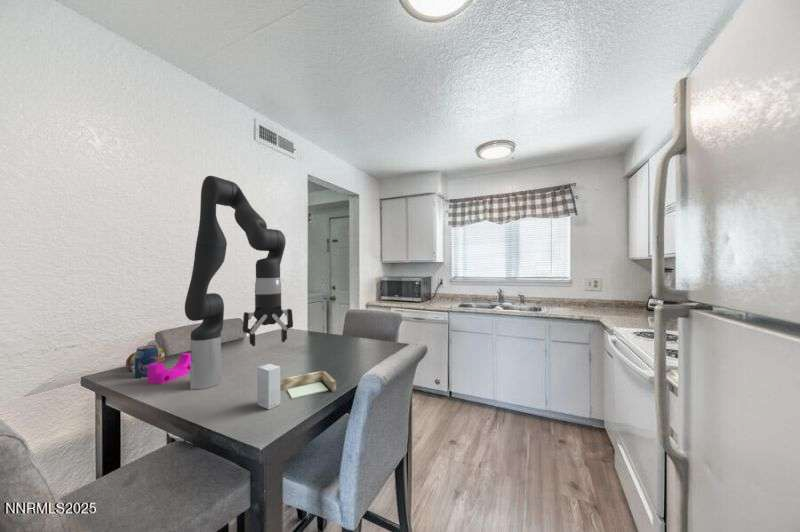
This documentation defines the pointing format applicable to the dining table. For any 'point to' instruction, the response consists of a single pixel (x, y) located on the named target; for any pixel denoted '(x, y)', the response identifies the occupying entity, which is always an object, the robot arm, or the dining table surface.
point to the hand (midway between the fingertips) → (268, 343)
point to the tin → (131, 359)
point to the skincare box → (268, 386)
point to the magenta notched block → (162, 375)
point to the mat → (306, 390)
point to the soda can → (145, 359)
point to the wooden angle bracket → (308, 380)
